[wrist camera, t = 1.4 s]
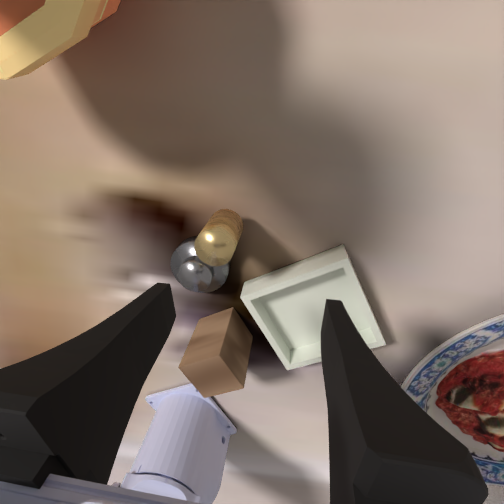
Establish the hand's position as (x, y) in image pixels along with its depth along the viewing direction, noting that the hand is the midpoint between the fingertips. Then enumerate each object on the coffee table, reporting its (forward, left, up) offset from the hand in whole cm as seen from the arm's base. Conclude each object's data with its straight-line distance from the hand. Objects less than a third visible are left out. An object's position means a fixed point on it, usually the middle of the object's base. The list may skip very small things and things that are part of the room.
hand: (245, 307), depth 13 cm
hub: (-1, +7, -11) cm, 13 cm away
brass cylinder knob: (0, +5, -10) cm, 11 cm away
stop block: (-9, +9, -11) cm, 17 cm away
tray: (-9, 0, -11) cm, 15 cm away
